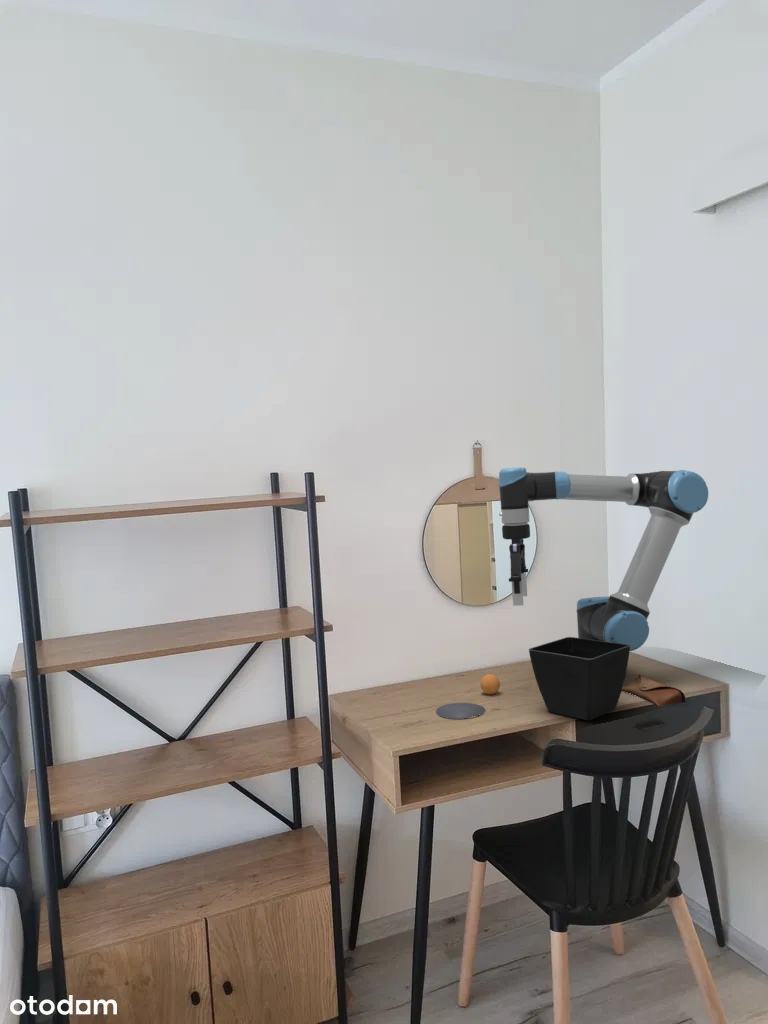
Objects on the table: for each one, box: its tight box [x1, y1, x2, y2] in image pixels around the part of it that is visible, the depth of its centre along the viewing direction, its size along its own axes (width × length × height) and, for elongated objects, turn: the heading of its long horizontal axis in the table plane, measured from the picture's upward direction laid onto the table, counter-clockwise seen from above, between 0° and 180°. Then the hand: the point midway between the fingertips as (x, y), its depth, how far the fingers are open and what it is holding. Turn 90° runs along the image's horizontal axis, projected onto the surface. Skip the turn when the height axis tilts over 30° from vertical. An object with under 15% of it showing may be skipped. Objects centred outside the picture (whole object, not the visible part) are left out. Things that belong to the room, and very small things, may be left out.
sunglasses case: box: [621, 674, 686, 707], centre depth 205 cm, size 18×7×7 cm
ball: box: [479, 673, 501, 695], centre depth 215 cm, size 6×6×6 cm
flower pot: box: [528, 636, 631, 721], centre depth 196 cm, size 19×19×17 cm
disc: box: [435, 702, 486, 720], centre depth 201 cm, size 13×13×1 cm
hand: (520, 600), depth 210 cm, fingers open, 13 cm apart
